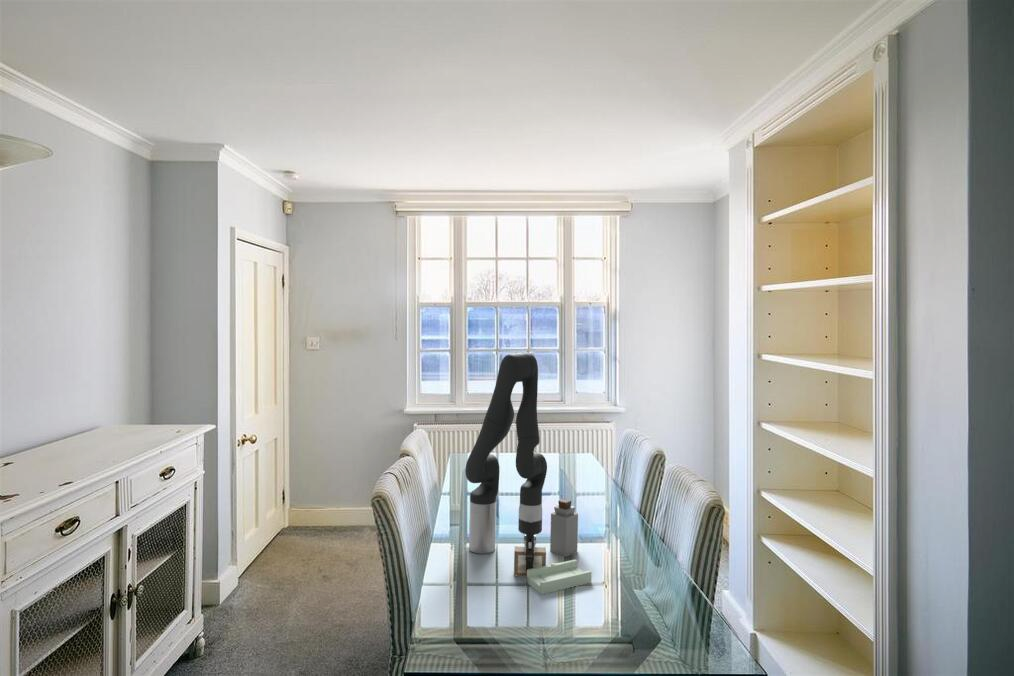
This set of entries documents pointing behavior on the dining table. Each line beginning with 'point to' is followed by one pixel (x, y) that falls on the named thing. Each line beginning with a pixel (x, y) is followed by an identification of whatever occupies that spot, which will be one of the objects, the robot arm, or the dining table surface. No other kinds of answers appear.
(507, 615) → the dining table surface
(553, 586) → the ledge
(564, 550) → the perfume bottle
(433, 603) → the dining table surface
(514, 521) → the dining table surface
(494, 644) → the dining table surface
